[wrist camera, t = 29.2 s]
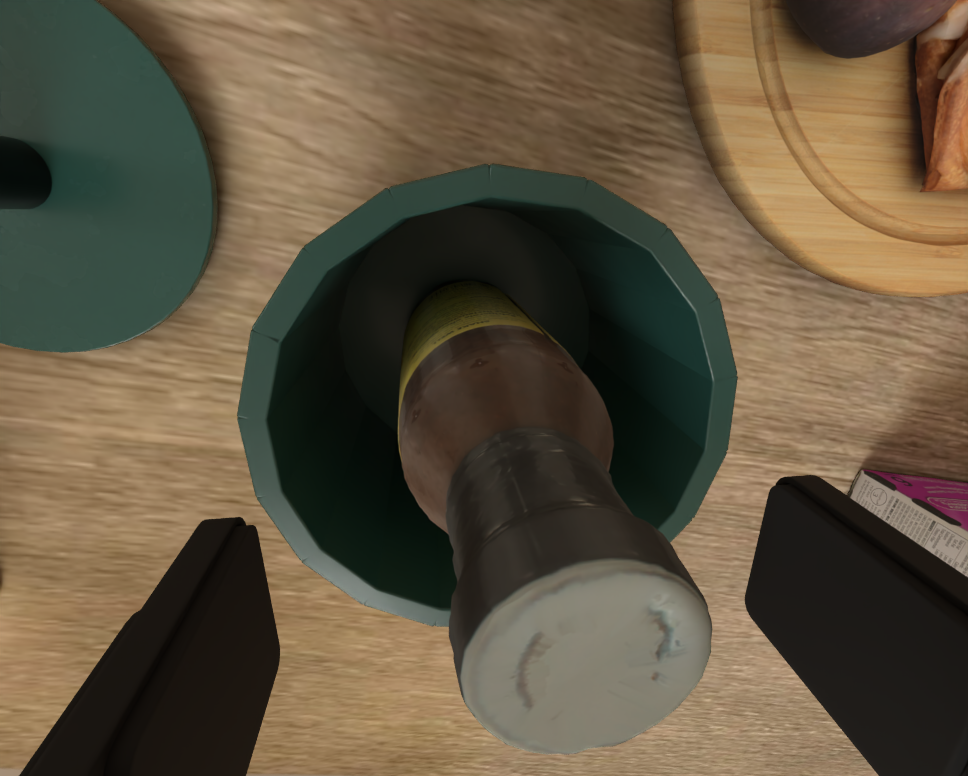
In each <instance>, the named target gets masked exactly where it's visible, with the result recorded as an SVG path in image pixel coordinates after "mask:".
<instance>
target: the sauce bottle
mask: <svg viewBox="0 0 968 776" xmlns="http://www.w3.org/2000/svg"><path fill="white" fill-rule="evenodd" d="M398 443H399V452H400V457H401V461H402V468H403V471H404V479H405V480H406V482H407V484H408V487H409V489H410V491H411V492H412V494H413V495H414V497H415V499H416V501H417V503H418V504H419V506H420V508H422V510H423V511H424V512H425V513H426V514H427V515H428V517H429V519H430V520H431V521H432V522H433V523H435V524H436V525H437V526H439V527H440V528H441V529H442V530H444V531H445V532H446V533H447V534H449V539H450V543H451V545H452V548H453V550H454V554H453V559H452V560H453V565H454V570H455V574H456V577H457V585H456V589H455V591H454V593H453V594H452V600H451V615H450V619H449V638H450V642H451V645H452V649H453V652H454V663H455V668H456V673H457V678H458V682H459V686H460V690H461V695H462V697H463V700H464V702H465V704H466V706H467V707H468V708H469V710H470V711H471V713H472V714H473V715H474V717H475V718H476V719H477V720H478V721H479V722H480V724H481V725H482V726H483V727H484V728H485V729H486V730H487V731H489V732H490V733H491V734H492V735H494V736H495V737H497V738H498V739H500V740H501V741H503V742H504V743H505V744H507V745H510V746H513V747H516V748H518V749H522V750H525V751H529V752H533V753H541V754H564V755H569V754H576V753H579V752H581V751H584V750H586V749H589V748H598V747H611V746H615V745H618V744H621V743H624V742H626V741H628V740H630V739H632V738H634V737H635V736H637V735H639V734H641V733H643V732H645V731H646V730H648V729H650V728H651V727H653V726H655V725H657V724H658V723H659V722H660V721H662V720H663V719H664V718H665V717H667V716H668V715H669V714H670V713H671V712H673V711H674V710H675V709H676V708H677V707H678V706H679V705H680V704H681V703H682V702H683V701H684V700H685V698H686V697H687V696H688V695H689V694H690V693H691V691H692V690H693V689H694V688H695V687H696V685H697V684H698V682H699V681H700V679H701V678H702V676H703V673H704V670H705V667H706V665H707V662H708V659H709V656H710V653H711V636H712V622H711V618H710V615H709V612H708V606H707V603H706V601H705V599H704V597H703V595H702V593H701V592H700V590H699V589H698V587H697V586H696V584H695V583H694V581H693V580H692V578H691V576H690V575H689V573H688V571H687V570H686V568H685V567H684V565H683V564H682V562H681V561H680V559H679V558H678V556H677V554H676V552H675V550H674V549H673V547H672V545H671V544H670V543H669V541H668V540H667V539H666V537H665V536H664V534H663V533H661V532H660V531H658V530H657V529H655V528H654V527H653V526H652V525H651V524H649V523H648V522H646V521H644V520H642V519H640V518H637V517H635V516H633V514H632V513H631V512H630V510H629V508H628V507H627V505H626V504H625V503H624V502H623V500H622V499H621V497H620V496H619V495H618V493H617V492H616V490H615V488H614V486H613V484H612V479H611V475H610V474H609V468H610V462H611V458H612V451H613V447H614V440H613V429H612V424H611V421H610V418H609V415H608V412H607V409H606V407H605V404H604V402H603V400H602V398H601V396H600V395H599V393H598V391H597V389H596V388H595V386H594V385H593V384H592V382H591V381H590V380H589V378H588V377H587V375H585V374H584V373H583V372H582V370H581V369H580V368H579V367H578V366H577V364H576V363H575V361H574V360H573V358H572V357H571V356H570V355H569V354H568V352H567V351H566V350H565V349H564V348H563V347H562V346H561V345H560V344H559V343H558V342H557V341H556V340H555V339H554V338H553V337H552V336H551V335H549V334H548V333H547V332H546V331H545V330H544V329H543V328H542V327H541V326H540V325H539V324H538V323H537V322H536V321H535V320H534V319H533V318H532V317H531V316H530V315H529V314H528V313H527V312H526V311H525V310H524V309H523V308H522V307H521V306H520V305H519V304H518V303H517V302H516V301H515V300H513V299H512V298H511V297H510V296H509V295H507V294H504V293H502V292H501V291H500V290H499V289H498V288H497V287H495V286H493V285H491V284H489V283H486V282H478V281H474V280H457V281H449V282H445V283H442V284H440V285H438V286H436V287H435V288H434V289H433V290H432V291H431V292H430V293H429V294H427V295H426V296H425V297H424V298H423V299H422V300H421V301H420V302H419V303H418V304H417V305H416V307H415V308H414V310H413V312H412V314H411V317H410V319H409V321H408V324H407V327H406V330H405V334H404V339H403V351H402V357H401V374H400V389H399V417H398Z"/></svg>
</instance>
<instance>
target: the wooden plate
mask: <svg viewBox="0 0 968 776" xmlns="http://www.w3.org/2000/svg"><path fill="white" fill-rule="evenodd" d="M673 15H674V26H675V36H676V46H677V52H678V58H679V63H680V69H681V74H682V80H683V84H684V88H685V92H686V96H687V100H688V104H689V108H690V112H691V116H692V118H693V121H694V124H695V127H696V129H697V132H698V135H699V138H700V140H701V143H702V146H703V148H704V150H705V153H706V155H707V157H708V160H709V162H710V164H711V167H712V169H713V171H714V172H715V174H716V176H717V178H718V180H719V182H720V184H721V185H722V187H723V188H724V190H725V191H726V193H727V194H728V196H729V197H730V199H731V200H732V202H733V203H734V204H735V205H736V207H737V208H738V209H739V210H740V212H741V213H742V214H743V215H744V217H745V218H746V219H747V220H748V221H749V223H750V224H751V225H752V226H753V227H754V228H755V229H756V230H757V231H758V232H759V233H760V234H761V235H762V236H763V237H764V238H765V239H766V240H767V241H769V242H770V243H771V244H772V245H773V246H775V247H776V248H777V249H778V250H779V251H781V252H782V253H783V254H784V255H785V256H787V257H788V258H789V259H790V260H792V261H793V262H795V263H797V264H798V265H800V266H802V267H803V268H805V269H807V270H808V271H810V272H812V273H814V274H816V275H819V276H821V277H823V278H825V279H827V280H829V281H831V282H834V283H836V284H839V285H843V286H846V287H849V288H853V289H856V290H860V291H864V292H868V293H872V294H879V295H887V296H901V297H936V296H945V295H955V294H963V293H968V0H673Z"/></svg>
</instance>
